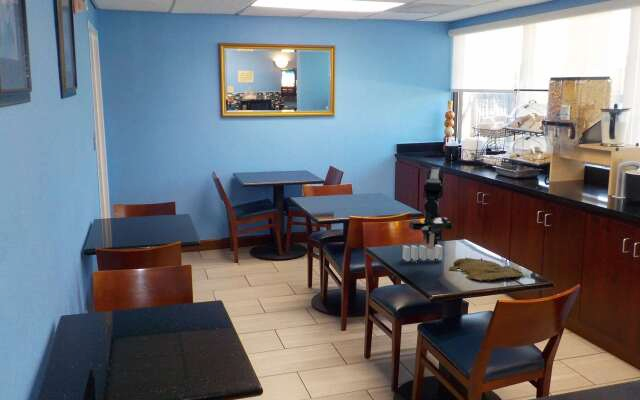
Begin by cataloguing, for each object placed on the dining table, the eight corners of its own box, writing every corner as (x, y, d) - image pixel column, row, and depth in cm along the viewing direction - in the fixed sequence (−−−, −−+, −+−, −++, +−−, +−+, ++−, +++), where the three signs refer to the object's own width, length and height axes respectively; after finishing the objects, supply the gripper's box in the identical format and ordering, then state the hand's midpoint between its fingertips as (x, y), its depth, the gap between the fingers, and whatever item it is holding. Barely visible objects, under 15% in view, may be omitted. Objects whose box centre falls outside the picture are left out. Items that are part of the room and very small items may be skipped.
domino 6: (434, 259, 273) (435, 244, 272) (438, 259, 273) (438, 244, 272) (438, 261, 269) (439, 246, 268) (442, 261, 269) (443, 246, 268)
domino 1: (402, 260, 269) (403, 245, 268) (406, 260, 270) (406, 245, 269) (405, 262, 265) (406, 247, 264) (409, 262, 265) (410, 247, 264)
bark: (537, 270, 246) (481, 277, 234) (536, 278, 247) (481, 286, 234) (492, 254, 271) (440, 260, 258) (492, 262, 271) (439, 268, 259)
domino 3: (418, 259, 271) (419, 245, 270) (422, 259, 272) (422, 245, 271) (422, 262, 267) (423, 247, 266) (425, 262, 267) (426, 247, 266)
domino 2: (410, 260, 270) (411, 245, 269) (414, 259, 271) (414, 245, 270) (414, 262, 266) (414, 247, 265) (417, 262, 266) (418, 247, 265)
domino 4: (425, 246, 260) (426, 231, 259) (429, 246, 261) (430, 231, 260) (429, 249, 256) (430, 233, 255) (433, 249, 256) (434, 233, 255)
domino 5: (426, 259, 272) (427, 244, 271) (430, 259, 272) (430, 244, 271) (430, 261, 268) (431, 247, 267) (434, 261, 268) (434, 247, 267)
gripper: (418, 213, 246) (417, 249, 248) (459, 212, 250) (457, 248, 252) (409, 208, 257) (407, 243, 259) (448, 208, 261) (446, 242, 263)
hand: (429, 244), depth 258 cm, fingers closed on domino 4, 2 cm apart
